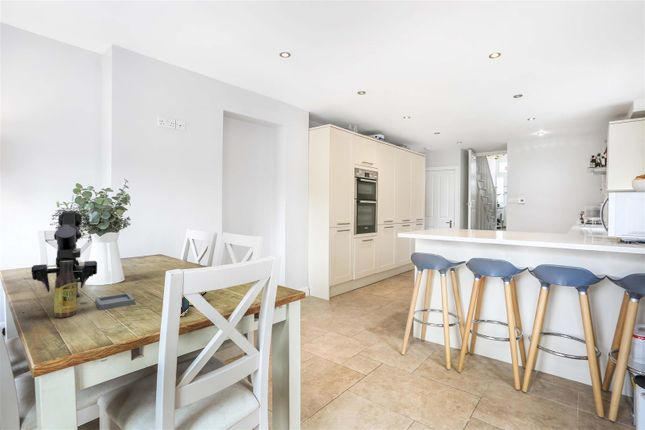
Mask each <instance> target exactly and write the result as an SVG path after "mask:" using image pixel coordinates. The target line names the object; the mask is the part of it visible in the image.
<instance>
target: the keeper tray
mask: <svg viewBox="0 0 645 430" xmlns="http://www.w3.org/2000/svg"><path fill="white" fill-rule="evenodd" d="M94 304H95V305H96V307H97V308H98V310H99V311H104V310H109V309H113V308H120V307H121V308H122V307H125V306H132V305H136V299H135V297H133V295H132V294H131V293H130V292H125V293H118V294H112V295H111V294H110V295H107V296H100V297H95V300H94Z"/></svg>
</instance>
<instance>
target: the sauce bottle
mask: <svg viewBox="0 0 645 430" xmlns="http://www.w3.org/2000/svg"><path fill="white" fill-rule="evenodd" d="M73 264H74V261H73V260H63V261H60V262H59V265H60V274H59V276H58V277H57V278H56V277H55V278H56V279H55V281H54V284H55V286H54V300H53V302H54V304H53V312H54V314H53V316H54V318H60V319H61V318H67V317H72V316H73V315H75V314H76V312H77V311H76V310H77V297H76V296H77V282H76V279H75V277H74V274H73Z"/></svg>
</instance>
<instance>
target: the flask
mask: <svg viewBox="0 0 645 430" xmlns="http://www.w3.org/2000/svg"><path fill="white" fill-rule="evenodd" d="M188 307H189V308H190V306H189V301H188V300H187V299H186V298H185V297H183V298H182V307H181V314H182V313H183V312H185V311H186V310H187V309H188Z"/></svg>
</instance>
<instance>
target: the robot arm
mask: <svg viewBox="0 0 645 430" xmlns="http://www.w3.org/2000/svg"><path fill="white" fill-rule="evenodd" d="M82 216H83V215H82V214H79V213H78V211H75V210H64V211H62V213H60V214H59V215H58V218H57V219H58V220H57V221H58V227H57V229H56V230H55V232H54V235H53V238H54V240H55V241H56V245H57V250H56V258H55V267H53V266H52V267H48V264H47V263H46V264H34V265H33V266H31V277H32V280H34V281H37V282H42V283H41V284H43V285H44V287H45V289H46V292H48V293H49V292H50V283H49V282H50V281H49V274H55V278H57V277H58V276H59V274H60V265H59V262H60V261H63V260H73V261H74V264H73V274H74V277H75V279H76V282H77V296H76V297H78V298H79V297H80V293H79V290H78V288H79V287H78V286H79V283H80V289H82V288H83V287H84V286H85V284H86V283H87V281H88V279H89V278H91V277H93V276H94V275H97V274H98V261H96V260H88V261H87V260H86V261H84V264H83V265H80V262H79V260H77V259H78V258H81V248H79V247H77V243H78V240H80V239H81V237H82V233H81V232H80V230H81V226H82V225H83V217H82Z"/></svg>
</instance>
